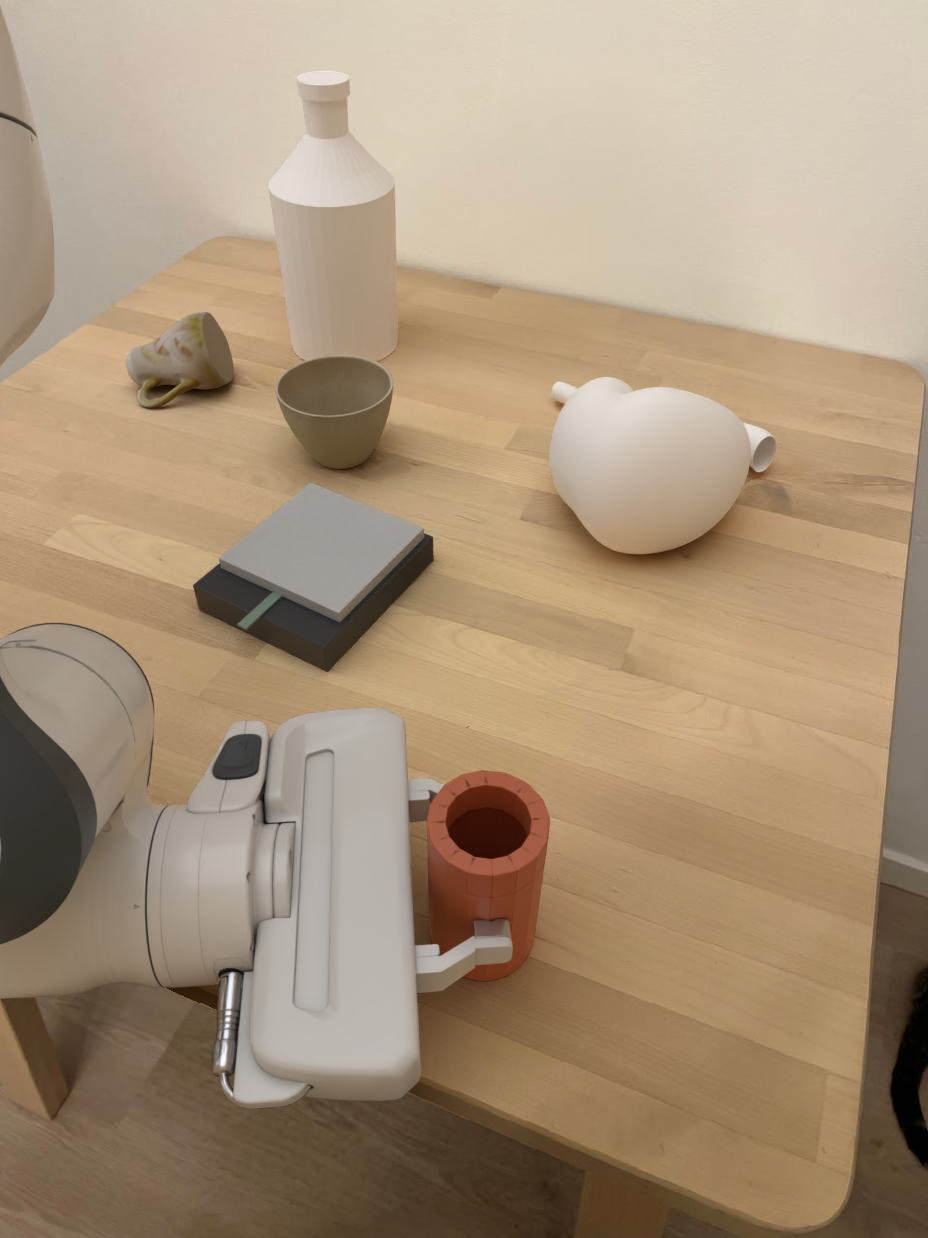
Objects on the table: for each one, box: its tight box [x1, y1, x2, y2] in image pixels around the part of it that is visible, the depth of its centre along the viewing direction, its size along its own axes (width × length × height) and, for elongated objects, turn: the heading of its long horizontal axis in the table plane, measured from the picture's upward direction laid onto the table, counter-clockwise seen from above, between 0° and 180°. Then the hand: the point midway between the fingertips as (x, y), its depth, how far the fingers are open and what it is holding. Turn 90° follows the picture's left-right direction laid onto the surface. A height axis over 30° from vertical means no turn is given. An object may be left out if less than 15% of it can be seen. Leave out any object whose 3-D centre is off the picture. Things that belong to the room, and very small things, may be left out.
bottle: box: [267, 69, 399, 363], centre depth 90 cm, size 12×12×25 cm
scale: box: [192, 482, 434, 672], centre depth 70 cm, size 12×16×4 cm
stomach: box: [548, 376, 777, 555], centre depth 80 cm, size 23×13×24 cm
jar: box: [425, 769, 551, 982], centre depth 48 cm, size 6×6×11 cm
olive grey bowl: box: [274, 355, 394, 470], centre depth 82 cm, size 10×10×7 cm
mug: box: [125, 311, 235, 408], centre depth 90 cm, size 8×10×10 cm
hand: (502, 872), depth 48 cm, fingers closed on jar, 6 cm apart
